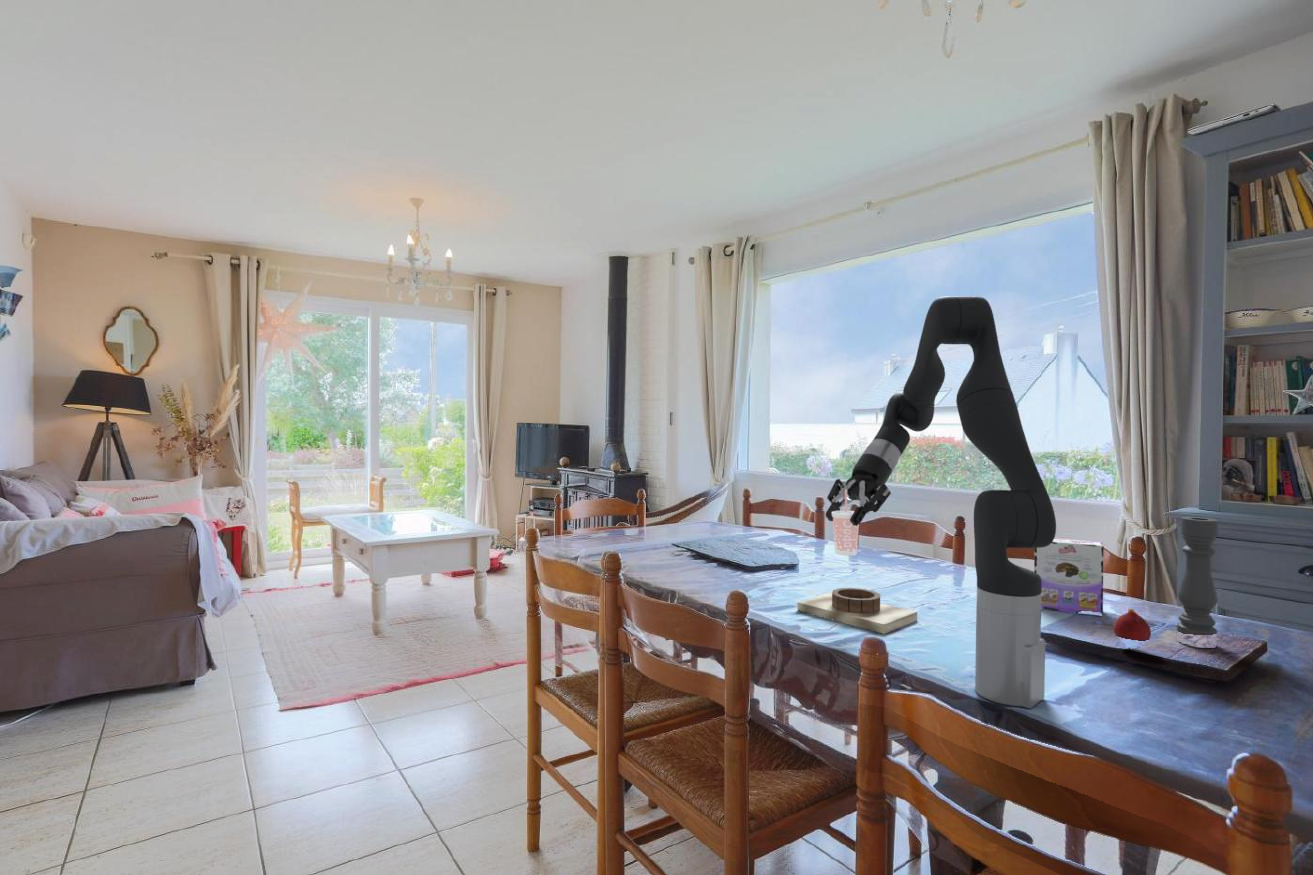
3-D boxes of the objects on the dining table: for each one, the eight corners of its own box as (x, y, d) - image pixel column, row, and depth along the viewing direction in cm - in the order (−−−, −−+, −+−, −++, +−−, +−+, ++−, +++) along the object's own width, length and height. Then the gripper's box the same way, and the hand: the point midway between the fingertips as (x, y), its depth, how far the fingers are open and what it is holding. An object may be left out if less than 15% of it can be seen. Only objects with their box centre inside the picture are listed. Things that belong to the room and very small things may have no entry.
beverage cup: (830, 555, 142) (830, 490, 142) (832, 549, 148) (832, 487, 147) (859, 557, 140) (860, 491, 140) (861, 551, 146) (861, 488, 145)
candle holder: (1224, 649, 128) (1227, 521, 128) (1187, 647, 129) (1190, 520, 129) (1204, 639, 134) (1207, 517, 134) (1169, 637, 136) (1172, 516, 135)
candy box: (1102, 611, 154) (1103, 541, 154) (1103, 617, 149) (1104, 545, 149) (1034, 602, 161) (1035, 535, 161) (1032, 608, 156) (1034, 539, 156)
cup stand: (917, 620, 146) (917, 598, 146) (884, 634, 137) (884, 610, 137) (832, 600, 163) (832, 579, 163) (797, 610, 154) (797, 589, 154)
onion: (1152, 649, 128) (1153, 608, 128) (1147, 657, 124) (1149, 615, 124) (1116, 642, 132) (1116, 602, 132) (1110, 649, 128) (1111, 608, 128)
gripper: (843, 450, 153) (807, 505, 147) (896, 454, 141) (859, 514, 135) (858, 472, 156) (823, 527, 150) (911, 477, 144) (876, 537, 138)
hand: (840, 520), depth 143 cm, fingers closed on beverage cup, 6 cm apart
